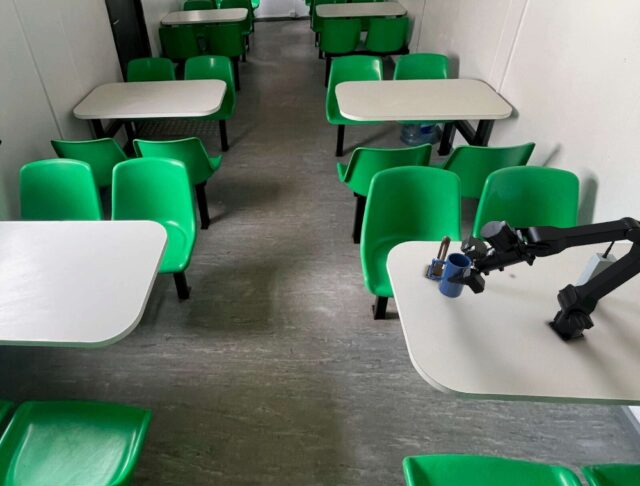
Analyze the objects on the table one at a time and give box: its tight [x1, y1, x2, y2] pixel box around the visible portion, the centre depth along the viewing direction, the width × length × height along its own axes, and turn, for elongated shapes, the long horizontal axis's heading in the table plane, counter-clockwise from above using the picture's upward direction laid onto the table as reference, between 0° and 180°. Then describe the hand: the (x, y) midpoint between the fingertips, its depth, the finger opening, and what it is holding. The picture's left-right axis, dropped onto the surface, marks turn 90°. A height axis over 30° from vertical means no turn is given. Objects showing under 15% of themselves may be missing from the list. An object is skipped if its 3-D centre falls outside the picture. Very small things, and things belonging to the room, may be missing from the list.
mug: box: [427, 252, 472, 299], centre depth 126 cm, size 10×6×12 cm, turn 62°
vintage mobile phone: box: [574, 241, 618, 286], centre depth 126 cm, size 4×5×25 cm
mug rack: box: [425, 235, 452, 278], centre depth 135 cm, size 6×14×17 cm, turn 151°
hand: (449, 272), depth 125 cm, fingers closed on mug, 6 cm apart
